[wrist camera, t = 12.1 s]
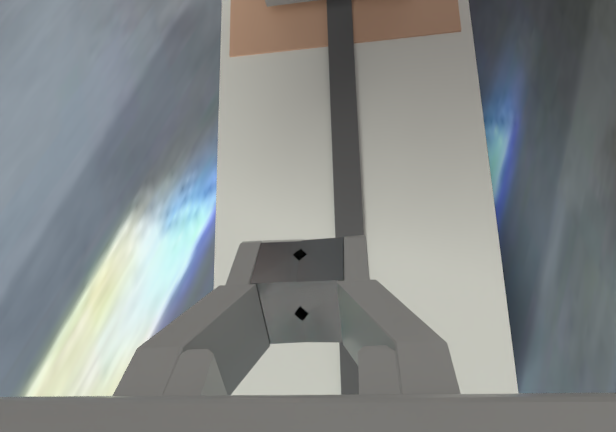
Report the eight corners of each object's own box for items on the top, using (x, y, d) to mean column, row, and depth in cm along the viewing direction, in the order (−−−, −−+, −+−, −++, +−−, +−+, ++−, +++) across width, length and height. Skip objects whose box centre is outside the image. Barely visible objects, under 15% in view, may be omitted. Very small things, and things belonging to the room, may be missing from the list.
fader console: (499, 416, 18) (526, 438, 15) (233, 413, 20) (207, 432, 17) (442, -73, 24) (453, -129, 21) (241, -44, 26) (223, -92, 23)
